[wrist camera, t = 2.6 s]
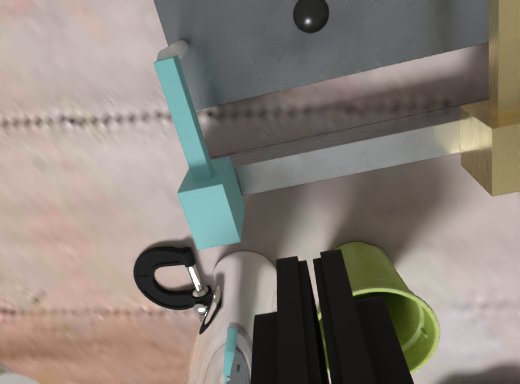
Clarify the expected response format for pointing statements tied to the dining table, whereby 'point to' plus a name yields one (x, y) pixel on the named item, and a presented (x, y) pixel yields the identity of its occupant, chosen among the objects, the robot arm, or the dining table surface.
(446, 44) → the hole plate
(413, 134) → the rail
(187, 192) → the sliding leg
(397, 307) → the plant pot
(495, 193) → the fixed leg
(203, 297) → the black c clamp
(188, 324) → the dining table surface
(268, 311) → the beer glass
